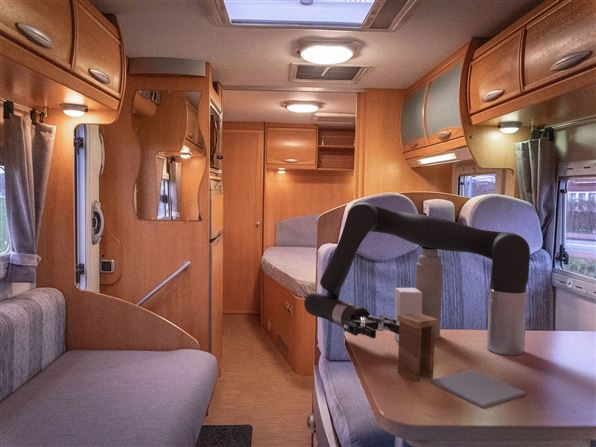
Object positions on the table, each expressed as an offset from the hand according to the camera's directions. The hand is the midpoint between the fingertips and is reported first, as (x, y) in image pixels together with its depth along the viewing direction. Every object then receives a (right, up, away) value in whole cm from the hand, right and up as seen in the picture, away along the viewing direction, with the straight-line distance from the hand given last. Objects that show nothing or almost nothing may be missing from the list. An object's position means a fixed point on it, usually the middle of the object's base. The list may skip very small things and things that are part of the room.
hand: (387, 332), depth 116 cm
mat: (+17, -9, -15) cm, 24 cm away
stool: (+5, -8, -9) cm, 13 cm away
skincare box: (+9, -7, +17) cm, 20 cm away
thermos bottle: (+17, -7, +23) cm, 29 cm away
